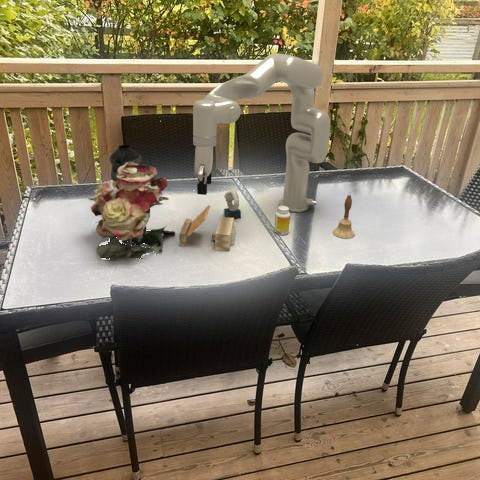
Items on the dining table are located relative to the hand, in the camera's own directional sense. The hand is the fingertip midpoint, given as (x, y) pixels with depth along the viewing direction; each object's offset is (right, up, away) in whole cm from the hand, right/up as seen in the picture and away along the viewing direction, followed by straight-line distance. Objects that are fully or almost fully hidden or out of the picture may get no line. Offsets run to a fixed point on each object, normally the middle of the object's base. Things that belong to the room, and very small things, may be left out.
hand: (204, 188), depth 156 cm
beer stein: (-33, -3, +33) cm, 47 cm away
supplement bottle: (+28, -15, +18) cm, 36 cm away
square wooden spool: (0, -18, +10) cm, 20 cm away
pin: (+6, -18, +9) cm, 21 cm away
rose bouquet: (-26, -20, +4) cm, 33 cm away
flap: (-2, -11, +6) cm, 13 cm away
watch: (+9, -8, +28) cm, 30 cm away
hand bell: (+52, -15, +19) cm, 58 cm away
